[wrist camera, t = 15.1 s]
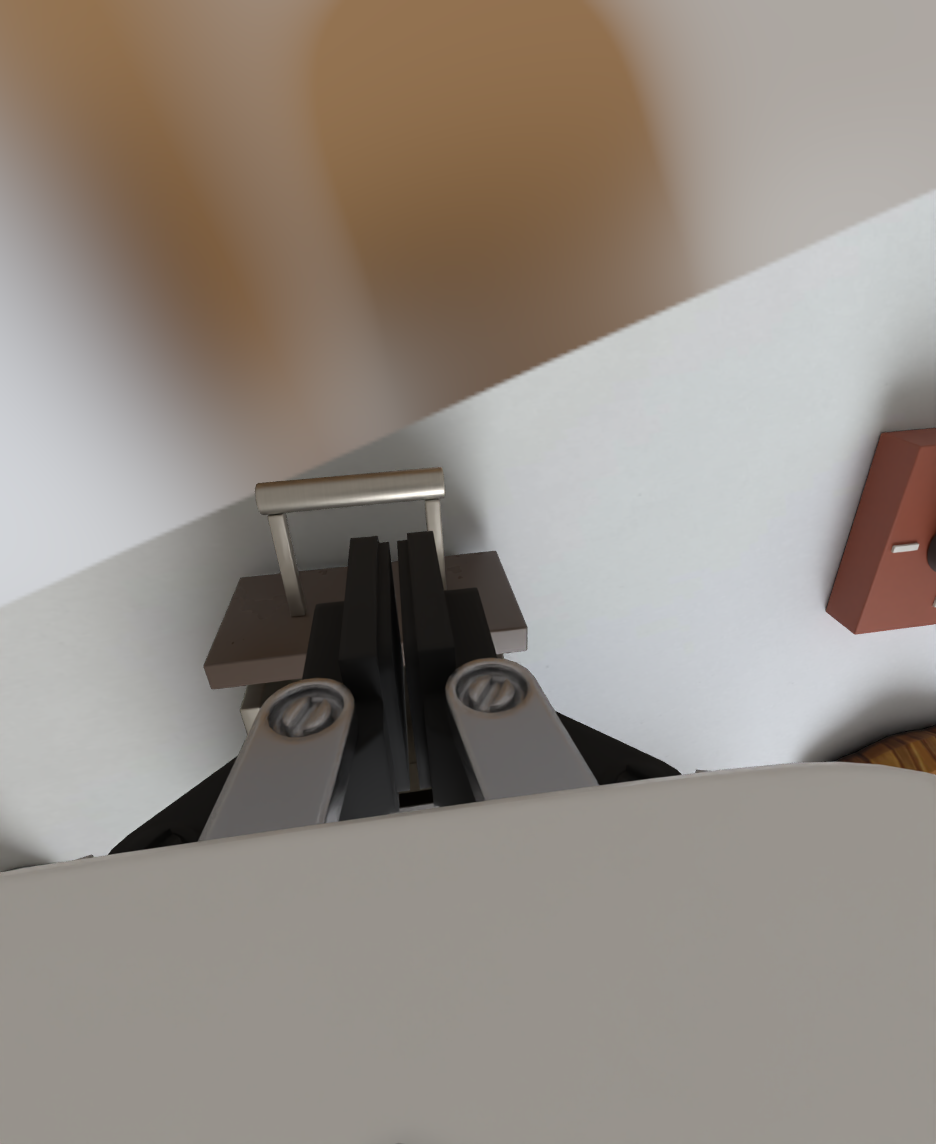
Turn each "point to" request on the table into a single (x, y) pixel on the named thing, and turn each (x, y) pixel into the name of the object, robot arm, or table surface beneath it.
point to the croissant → (901, 751)
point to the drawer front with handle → (338, 589)
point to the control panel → (891, 540)
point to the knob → (932, 554)
